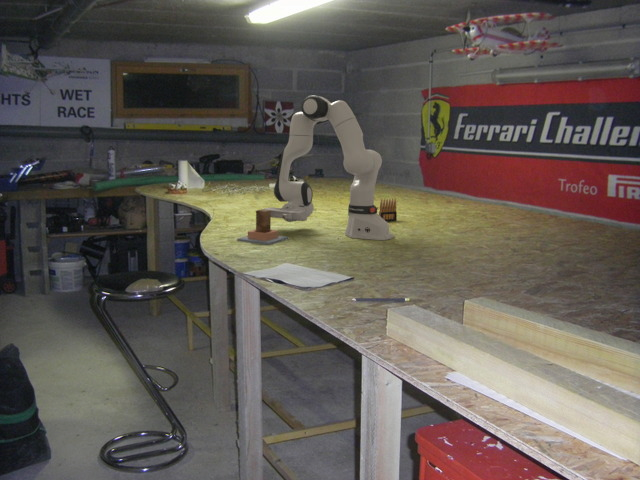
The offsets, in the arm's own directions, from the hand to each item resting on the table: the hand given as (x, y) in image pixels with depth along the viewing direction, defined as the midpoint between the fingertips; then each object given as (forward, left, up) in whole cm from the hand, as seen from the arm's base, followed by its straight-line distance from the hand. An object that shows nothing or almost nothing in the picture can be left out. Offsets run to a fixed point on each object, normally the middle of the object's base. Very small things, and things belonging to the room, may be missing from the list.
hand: (275, 215), depth 279 cm
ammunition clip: (-25, -72, -10) cm, 77 cm away
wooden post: (0, +9, -8) cm, 13 cm away
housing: (0, +9, -9) cm, 13 cm away
